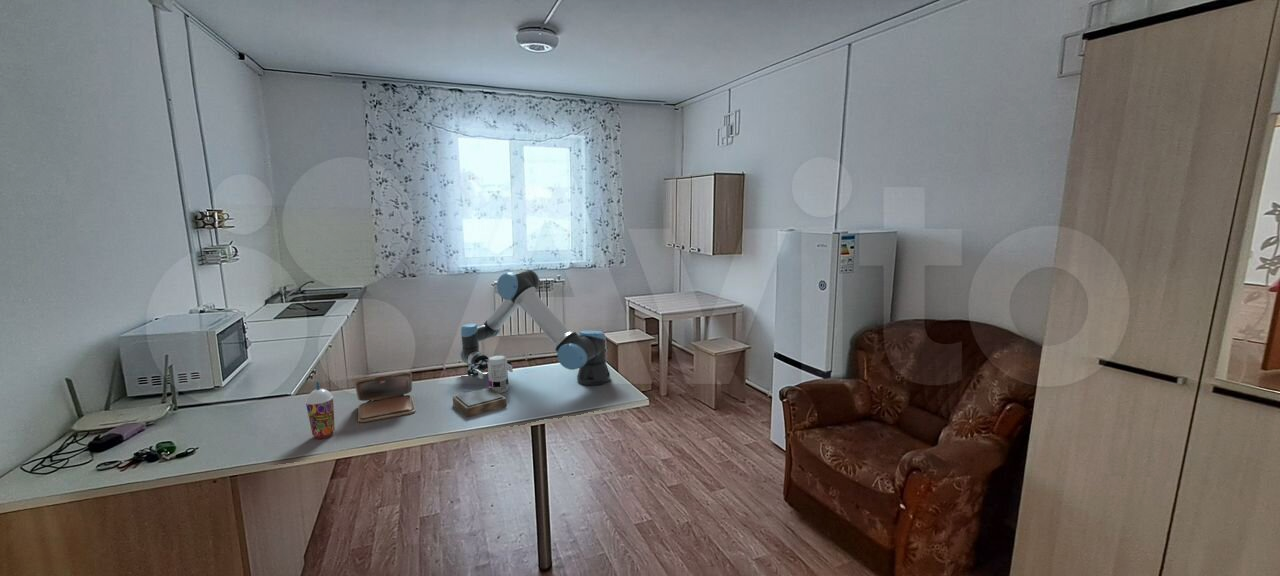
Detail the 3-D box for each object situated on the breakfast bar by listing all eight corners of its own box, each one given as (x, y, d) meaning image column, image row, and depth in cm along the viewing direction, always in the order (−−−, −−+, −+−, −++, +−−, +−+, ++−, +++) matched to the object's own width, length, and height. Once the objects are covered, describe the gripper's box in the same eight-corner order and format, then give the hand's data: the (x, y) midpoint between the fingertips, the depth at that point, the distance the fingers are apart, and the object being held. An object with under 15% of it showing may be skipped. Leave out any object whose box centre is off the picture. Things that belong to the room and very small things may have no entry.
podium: (490, 395, 216) (490, 386, 215) (506, 406, 204) (505, 397, 203) (453, 404, 206) (452, 395, 206) (467, 417, 194) (466, 407, 193)
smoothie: (317, 442, 174) (310, 387, 171) (305, 437, 179) (298, 383, 175) (342, 433, 181) (336, 380, 178) (330, 428, 186) (323, 376, 182)
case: (413, 396, 217) (409, 360, 214) (416, 413, 198) (412, 374, 196) (358, 406, 207) (354, 368, 205) (357, 425, 189) (352, 384, 186)
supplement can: (485, 392, 219) (483, 359, 217) (497, 386, 227) (495, 354, 224) (500, 395, 216) (498, 361, 214) (512, 388, 224) (510, 355, 221)
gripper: (504, 363, 245) (523, 374, 228) (452, 374, 229) (469, 387, 213) (503, 348, 243) (523, 358, 227) (451, 358, 228) (468, 370, 212)
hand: (497, 372), depth 220 cm, fingers open, 13 cm apart
